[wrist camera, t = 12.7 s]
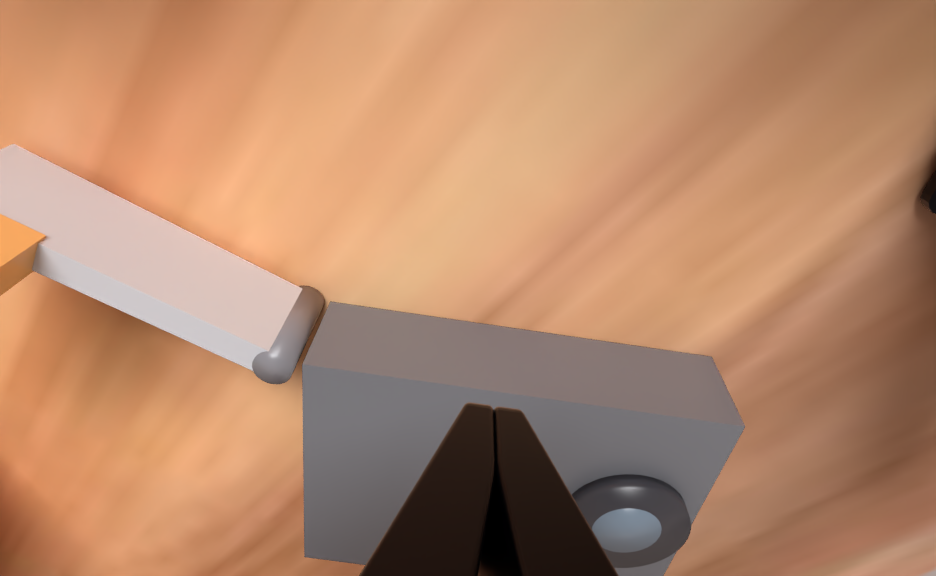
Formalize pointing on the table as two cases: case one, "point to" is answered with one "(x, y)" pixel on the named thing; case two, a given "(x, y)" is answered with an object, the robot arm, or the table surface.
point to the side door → (148, 267)
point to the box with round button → (513, 386)
